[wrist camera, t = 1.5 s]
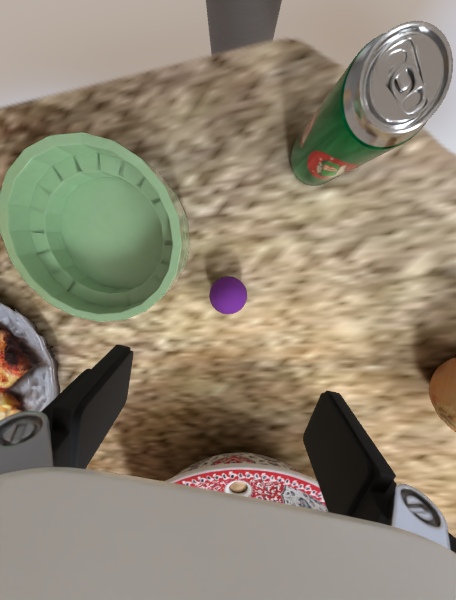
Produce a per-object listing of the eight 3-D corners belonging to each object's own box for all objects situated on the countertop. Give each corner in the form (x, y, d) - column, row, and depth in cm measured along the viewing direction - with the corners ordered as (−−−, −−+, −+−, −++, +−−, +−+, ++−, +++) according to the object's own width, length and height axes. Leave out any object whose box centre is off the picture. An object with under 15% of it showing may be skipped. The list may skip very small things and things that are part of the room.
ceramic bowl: (351, 523, 37) (382, 598, 30) (190, 560, 41) (180, 636, 33) (304, 383, 30) (331, 436, 22) (109, 442, 33) (73, 507, 25)
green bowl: (45, 134, 22) (-7, 107, 17) (203, 177, 23) (196, 163, 18) (44, 287, 26) (2, 300, 21) (176, 318, 27) (165, 336, 22)
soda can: (323, 115, 21) (435, -24, 10) (350, 163, 22) (479, 90, 11) (278, 153, 22) (331, 68, 11) (306, 197, 23) (381, 165, 12)
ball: (215, 269, 25) (212, 276, 22) (249, 278, 26) (253, 286, 22) (207, 302, 27) (204, 314, 23) (240, 310, 27) (242, 323, 23)
